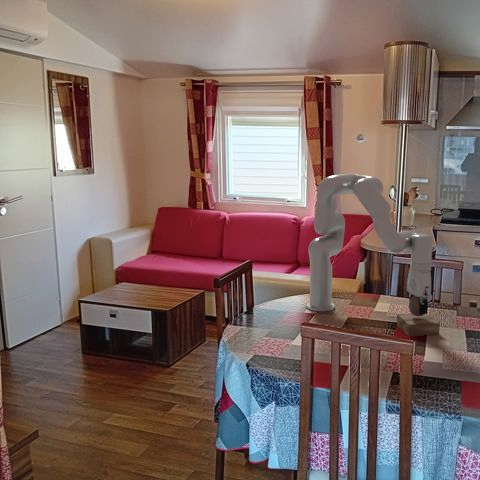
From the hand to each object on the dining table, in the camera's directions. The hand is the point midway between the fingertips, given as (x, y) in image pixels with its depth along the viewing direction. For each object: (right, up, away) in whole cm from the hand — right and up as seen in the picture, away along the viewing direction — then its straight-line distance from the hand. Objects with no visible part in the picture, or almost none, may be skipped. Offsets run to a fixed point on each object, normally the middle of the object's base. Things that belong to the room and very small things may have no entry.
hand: (417, 310), depth 211 cm
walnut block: (0, -8, +2) cm, 8 cm away
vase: (0, -2, 0) cm, 2 cm away
